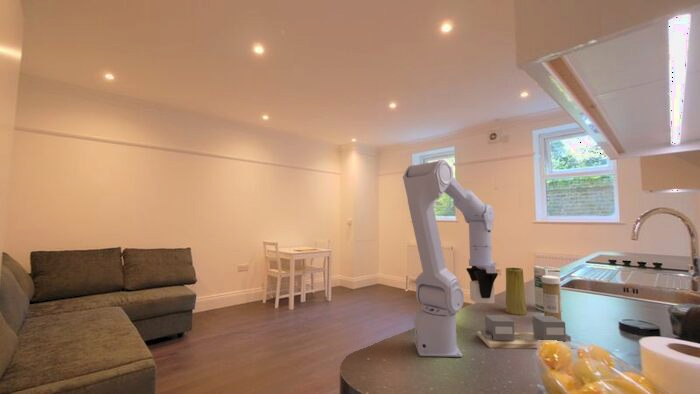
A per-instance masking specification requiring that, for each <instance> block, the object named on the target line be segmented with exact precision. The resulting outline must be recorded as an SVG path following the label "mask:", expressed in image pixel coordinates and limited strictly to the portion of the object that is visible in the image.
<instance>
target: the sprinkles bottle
mask: <svg viewBox="0 0 700 394" xmlns="http://www.w3.org/2000/svg"><path fill="white" fill-rule="evenodd" d="M560 282H561V278H560V279H559V277H556V276H542V284H543V304H544V311H543V314H544V315H543V316H554V317H556V318H558V319H560V320H562V312H561V304H562V301H561V302H560V289H559V284H560Z"/></svg>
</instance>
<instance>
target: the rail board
mask: <svg viewBox="0 0 700 394" xmlns="http://www.w3.org/2000/svg"><path fill="white" fill-rule="evenodd" d="M484 320H485V321H484V322H485V323H484V325H485V329H480V331H477V336H478V337H479V338H480V340H481V341H483V343H485V344H486V346H488V348H491V349H492V348H493V349H496V348H497V349H499V348H500V349H530V348H536V342H537V341H538V340H557V341H563V342H569V343H574V342H572V339H571V336H570V335H568V334H567V333H566V322H565V321H564V320H562V319H561V320H560V319H558V318H556V317H554V316H544V315H532V328H533V329H532V331H533V332H525V331H524V332H523V331H522V332H520V331H515V321H514V320H512V319H511V318H510V317H508V316H507V315H505V314H504V315H503V314H495V315H494V314H489V315H488V314H485V315H484Z"/></svg>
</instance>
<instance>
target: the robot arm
mask: <svg viewBox="0 0 700 394" xmlns="http://www.w3.org/2000/svg"><path fill="white" fill-rule="evenodd" d="M402 179H403V184H404V189H405V192H406V197H407V205H408V209H409V213H410V218H411V223H412V226H413V232H414V237H415V241H416V245H417V246H416V247H417V250H418V254H419V259H420V264H421V269H422V272H421V273H419V274H418V275H417V277H416V278H415V285H416V288H415V296H416V297H415V298H416V300H417V303H418V304H420V309H421V310H415V311H414V317H413V318H414V320H413V321H414V336H413V337H414V345H415V347H416V350H417V352H418V355H419V356H420V357H445V358H446V357H447V358H448V357H452V358H453V357H454V358H455V357H457V358H460V357H461V358H462V357H463V353H462V352H461V350H460V349H459V347H458V346H457V345H458V344H457V316H456V315H457V314H458V313H459V312H460V310H461V309H462V308H463V305H464V299H465V297H464V291H463V289H462V287H461V286H460V284H459V281H458V277H457V276H456V275H454V274H453V273H452V272H451V271H450V270H449V269H448V268H447V265H446V261H445V256H444V252H443V246H442V242H441V241H442V240H441V238H440V236H441V235H440V233H439V228H438V223H437V219H436V214H435V213H436V212H435V208H434V203H435V201H436V200H437V199H439V198H440V197H441V196H442V195H443V193H444V194H446V195H447V196H448V197H450V198H451V199H453V200H452V201H453V205H454V207H455V208H457V209H458V210H459V211H460V212H461V213H462V215H463V217H464V221H465V223H467V224H468V241H469V259H468V266H469V267H466V272H467V273H468V275H469V278H470V281H478V283H479V289H480V295H481V298H490V296H491V291H492V287H493V284H494V283H495V281H496V279H497V277H498V274H499V273H498V272H497V271H496V266H497V262H495V261H493V255H492V253H493V251H492V230H493V228H494V222H495V212H494V208H493V206H492V205H490V204H489V203H484V202H483V201H481V200H480V198H478V197H477V195H476V194H475V193H474V192H473V191H472V190H471V189H466V188H465V189H464V188H463V187H462V186H461V185H460V183H459V182H458V181H457V180H456V178H455V177H454V171H453V167H452V166H451V165H450V163H449V162H448V161H447V160H445V159H438V160H437V161H431V162H425V163H419V164H410V165H408V167H407V168H406V170H405V172H404V174H403V176H402Z"/></svg>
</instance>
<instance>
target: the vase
mask: <svg viewBox="0 0 700 394" xmlns="http://www.w3.org/2000/svg"><path fill="white" fill-rule="evenodd" d="M526 303H527V302H526V291H525V280H524V270H523V268H521V267H505V312H506V313H508V314H510V315H516V316H517V315H518V316H525V315H527V314H528V312H527V307H526V306H527V305H526Z"/></svg>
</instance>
